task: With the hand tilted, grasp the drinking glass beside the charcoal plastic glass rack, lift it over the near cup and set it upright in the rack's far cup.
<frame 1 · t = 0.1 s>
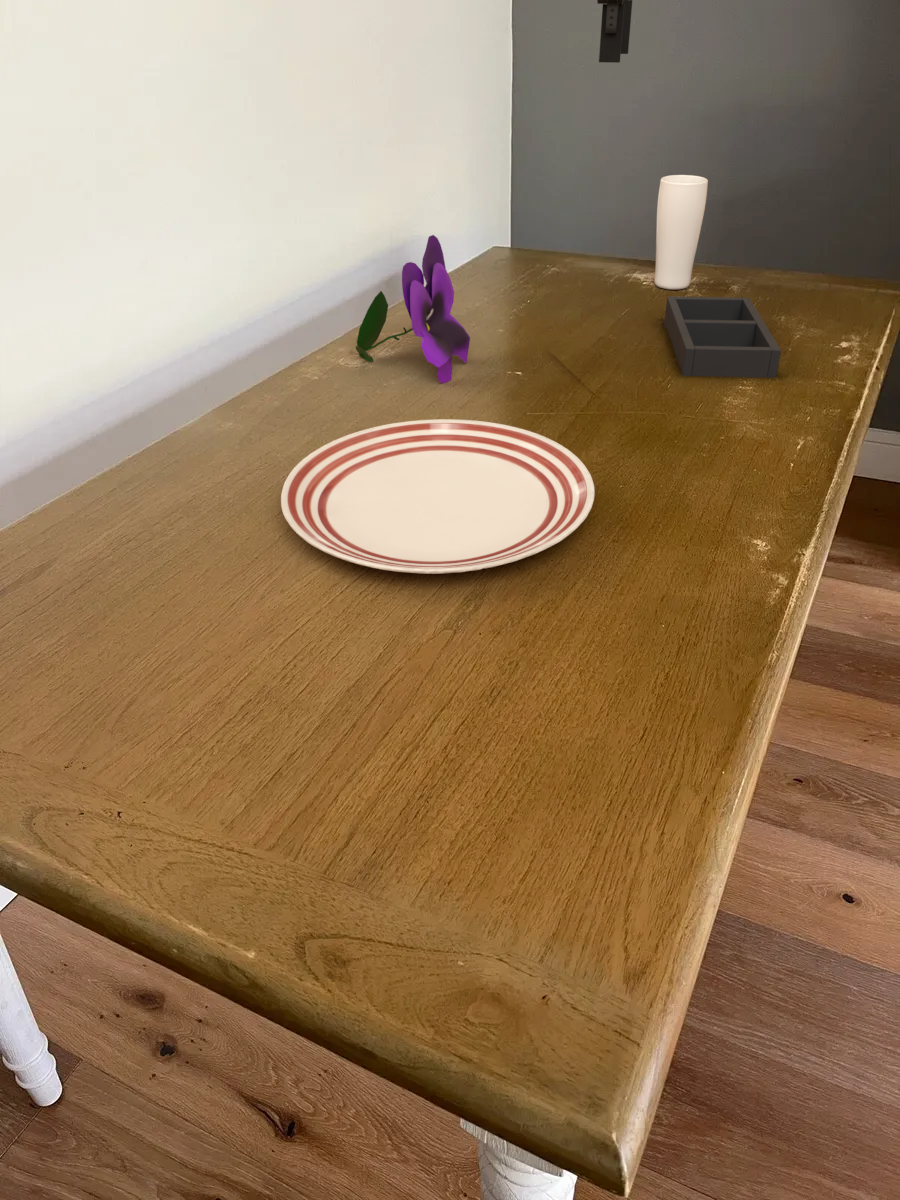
hand: (614, 58, 132), 30 cm above the table, tool pointing down, fingers open, 13 cm apart
glass rack: (714, 358, 118), on the table
dinner plate: (438, 515, 86), on the table
flower: (408, 368, 117), on the table
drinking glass: (671, 287, 144), on the table
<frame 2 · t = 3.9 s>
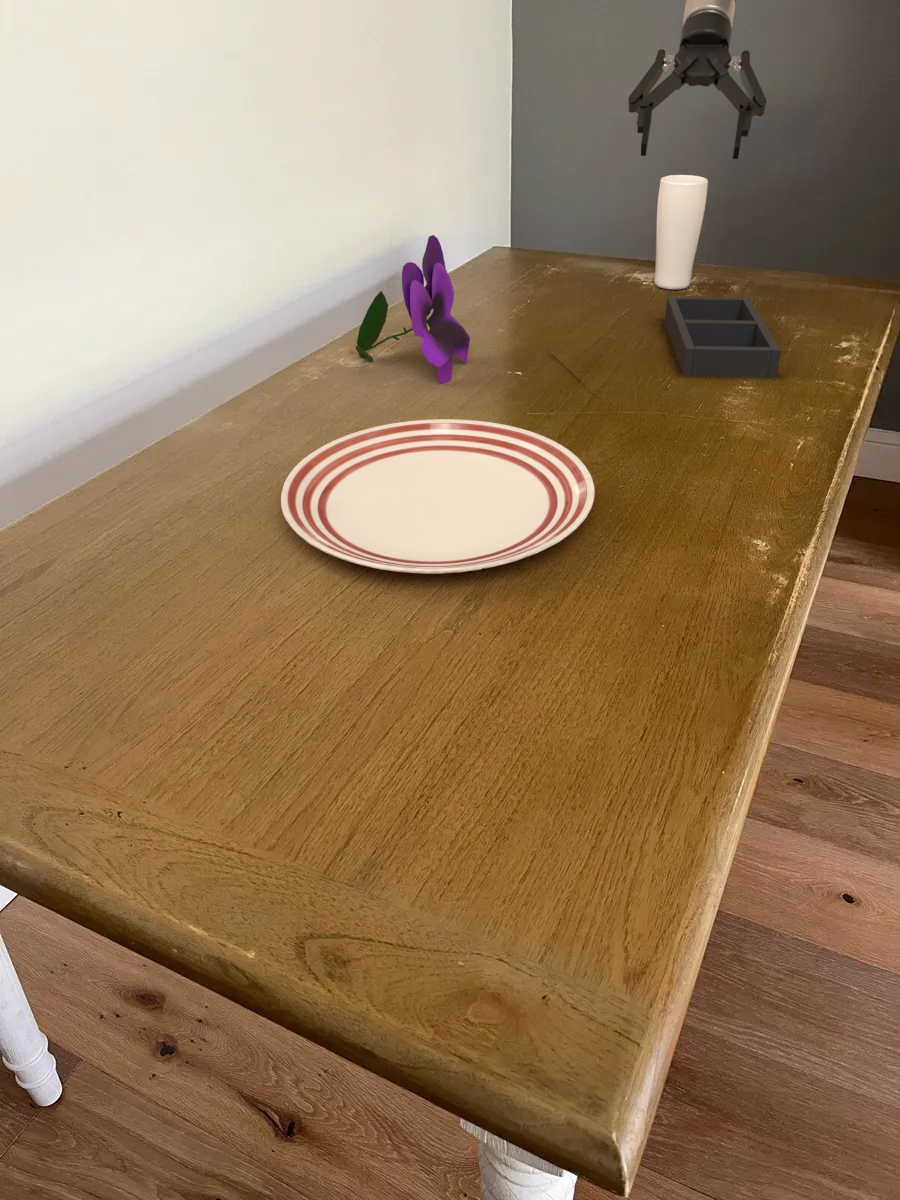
hand: (689, 151, 143), 17 cm above the table, tool tilted 45°, fingers open, 13 cm apart
nothing on the table moved.
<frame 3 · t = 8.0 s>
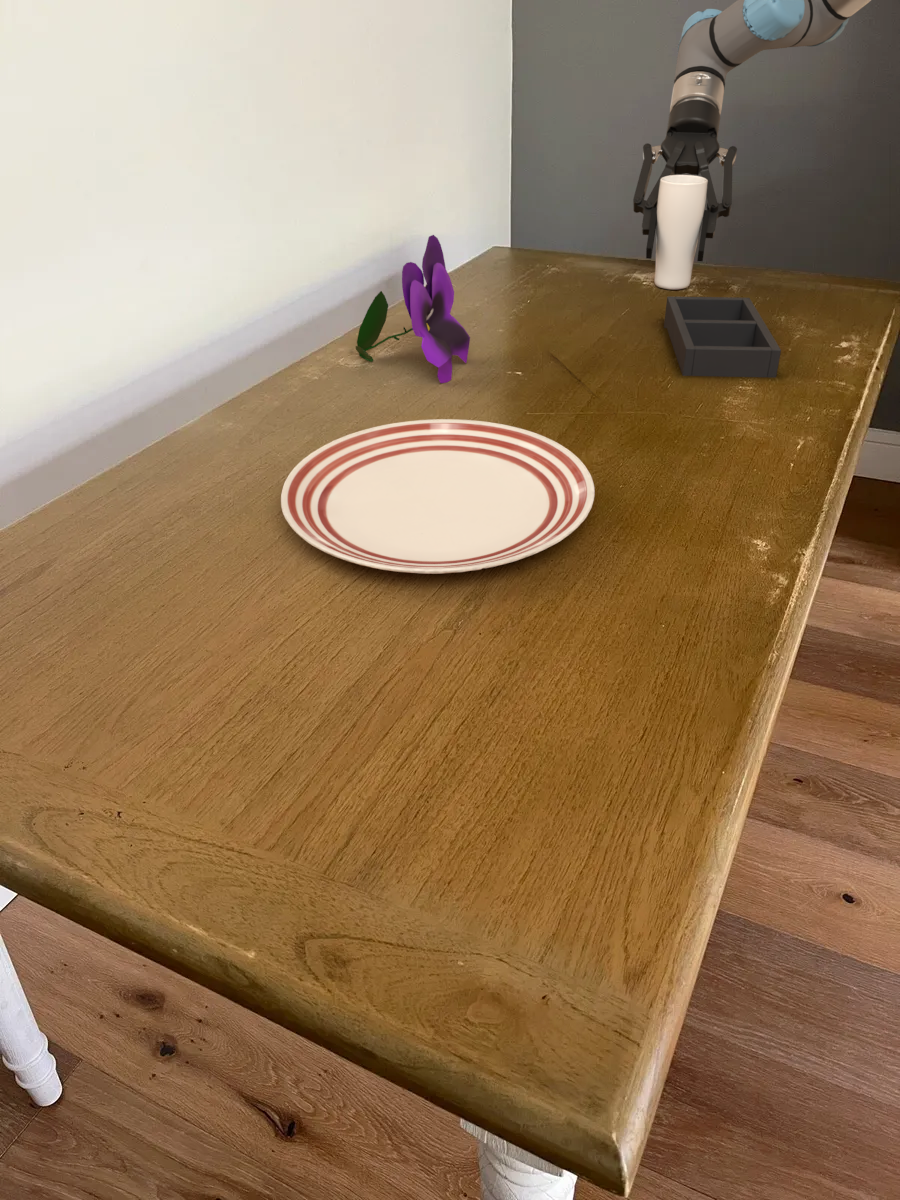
hand: (674, 254, 138), 5 cm above the table, tool tilted 45°, fingers closed on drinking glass, 7 cm apart
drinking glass: (671, 287, 144), on the table, touching gripper
everything else where it was.
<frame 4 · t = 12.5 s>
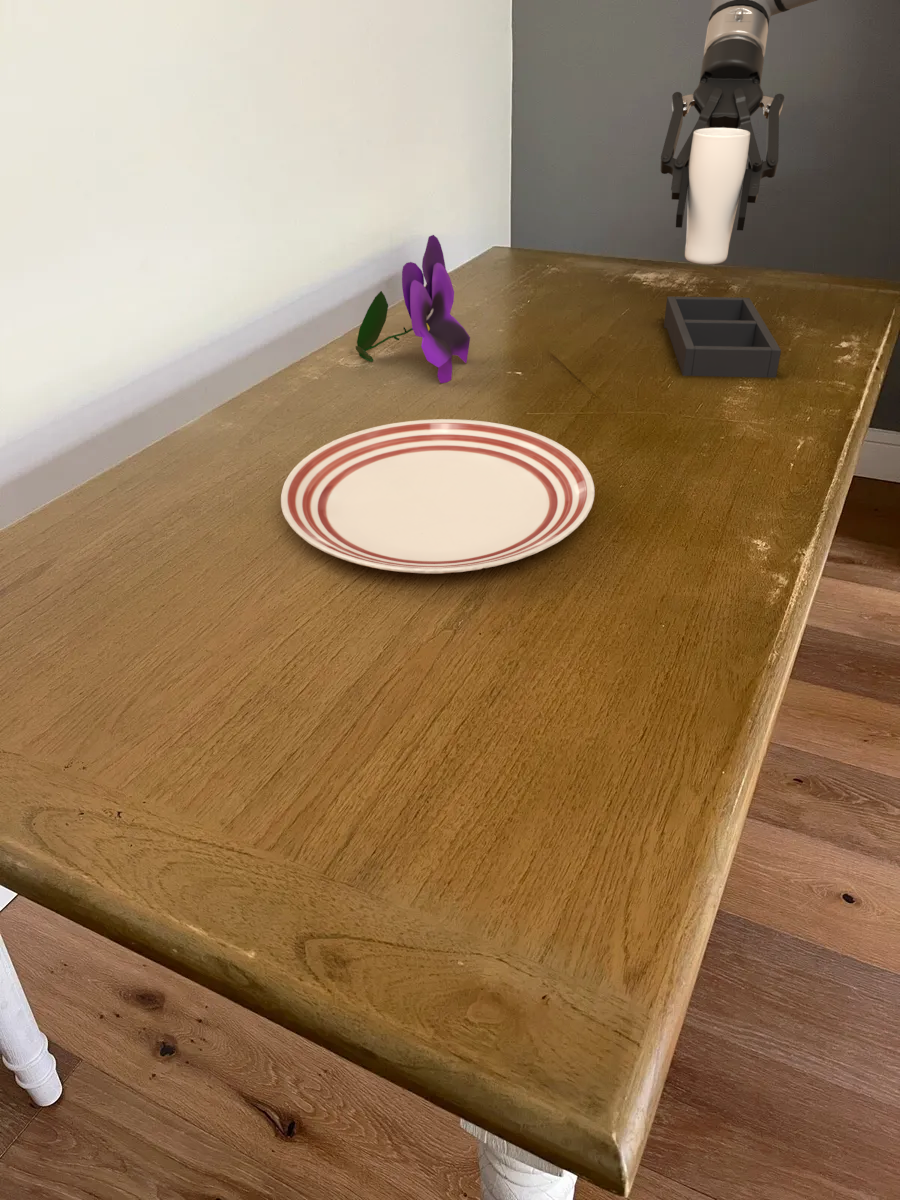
hand: (709, 222, 117), 14 cm above the table, tool tilted 45°, fingers closed on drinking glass, 7 cm apart
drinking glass: (704, 262, 123), point 9 cm above the table, touching gripper
everything else where it was.
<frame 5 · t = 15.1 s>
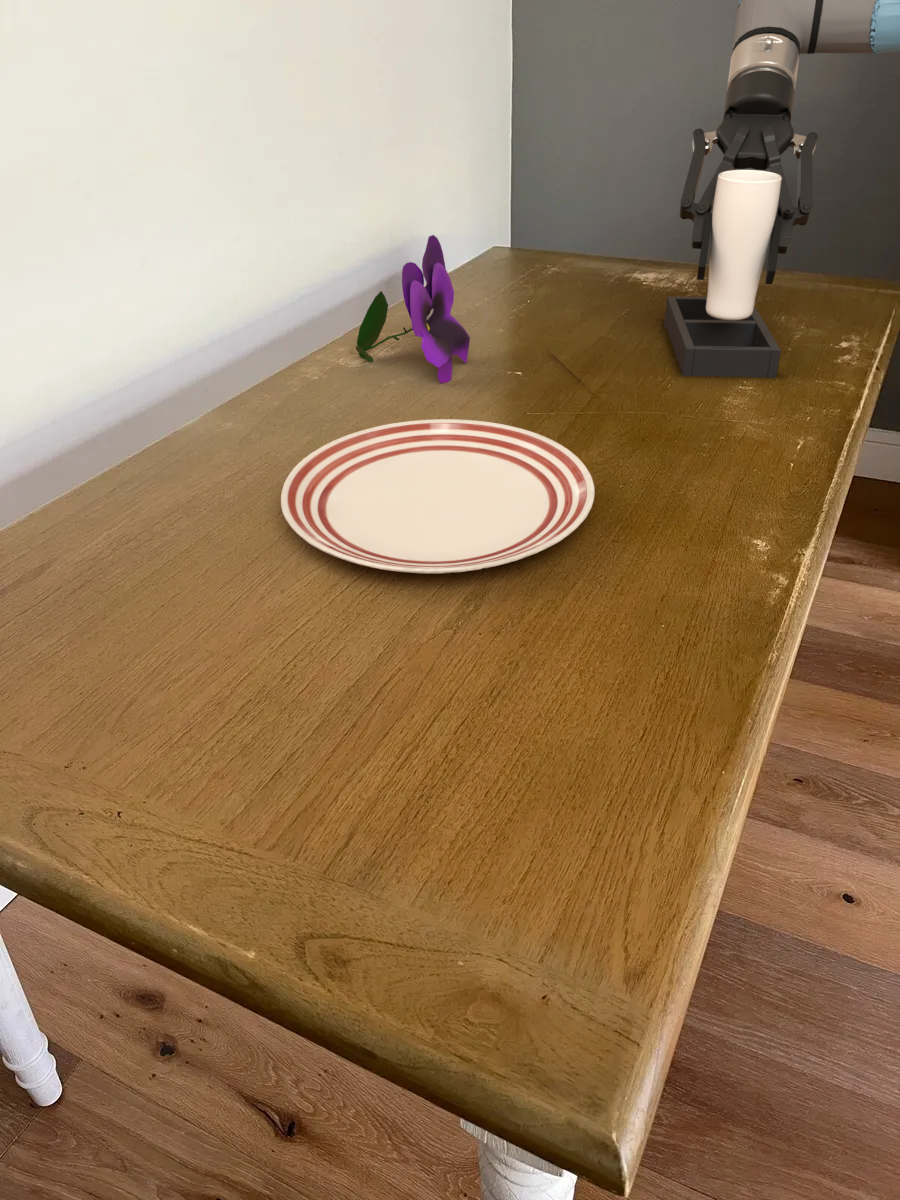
hand: (735, 275, 105), 12 cm above the table, tool tilted 45°, fingers closed on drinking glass, 7 cm apart
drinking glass: (728, 316, 111), point 7 cm above the table, touching gripper
everything else where it was.
when the fingers open (6 cm above the table, at t = 17.1 s): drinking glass stays where it is, resting on glass rack.
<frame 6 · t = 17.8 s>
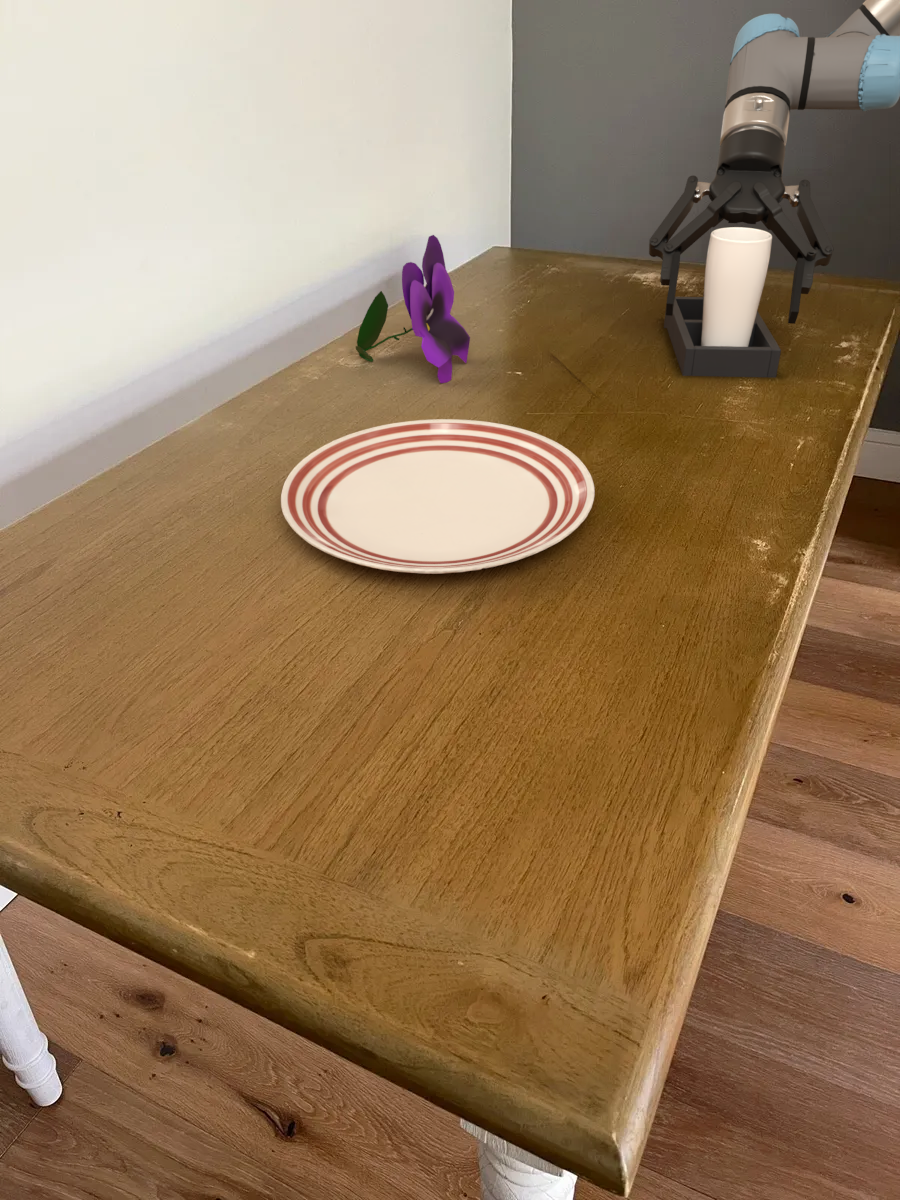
hand: (730, 314, 108), 8 cm above the table, tool tilted 45°, fingers open, 13 cm apart
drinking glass: (721, 366, 114), point 1 cm above the table, touching glass rack
everything else where it was.
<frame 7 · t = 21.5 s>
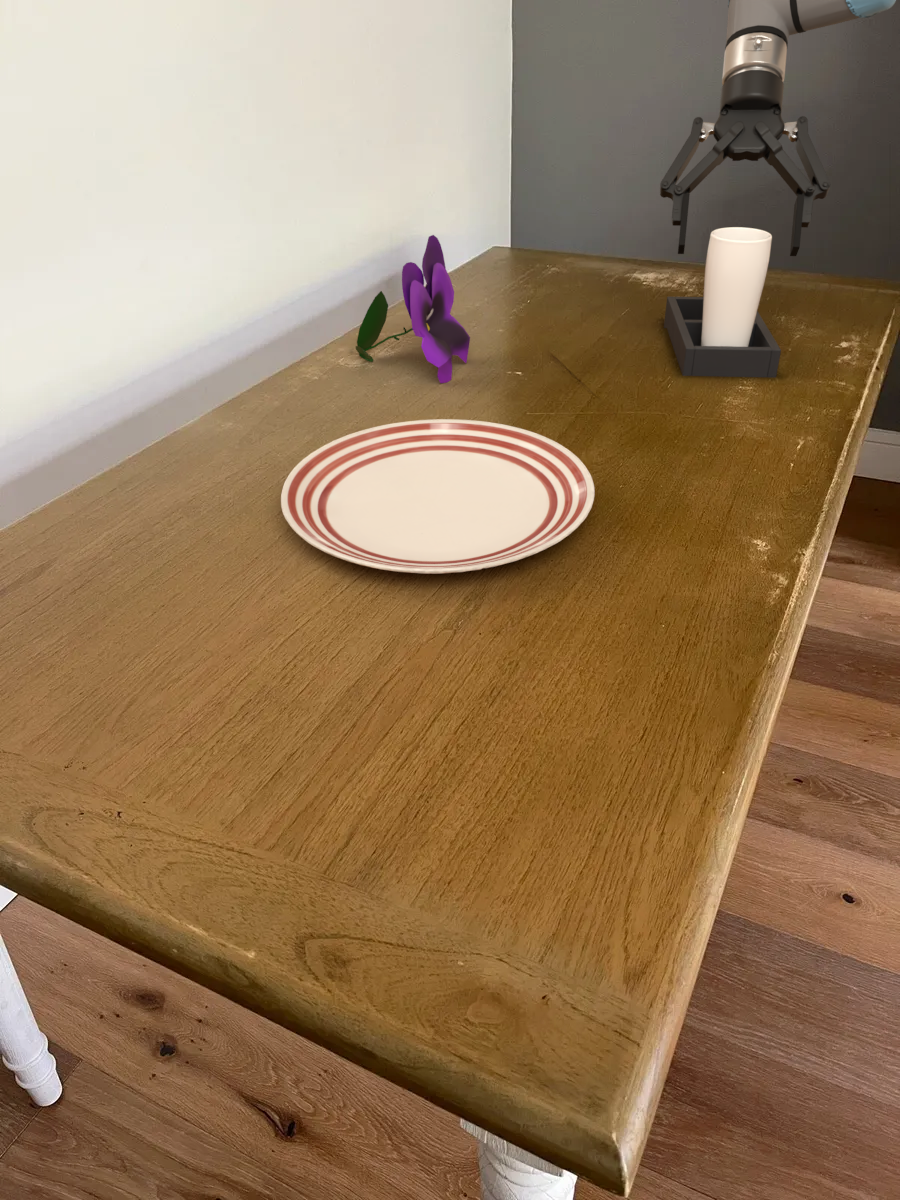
hand: (737, 250, 119), 11 cm above the table, tool tilted 35°, fingers open, 13 cm apart
nothing on the table moved.
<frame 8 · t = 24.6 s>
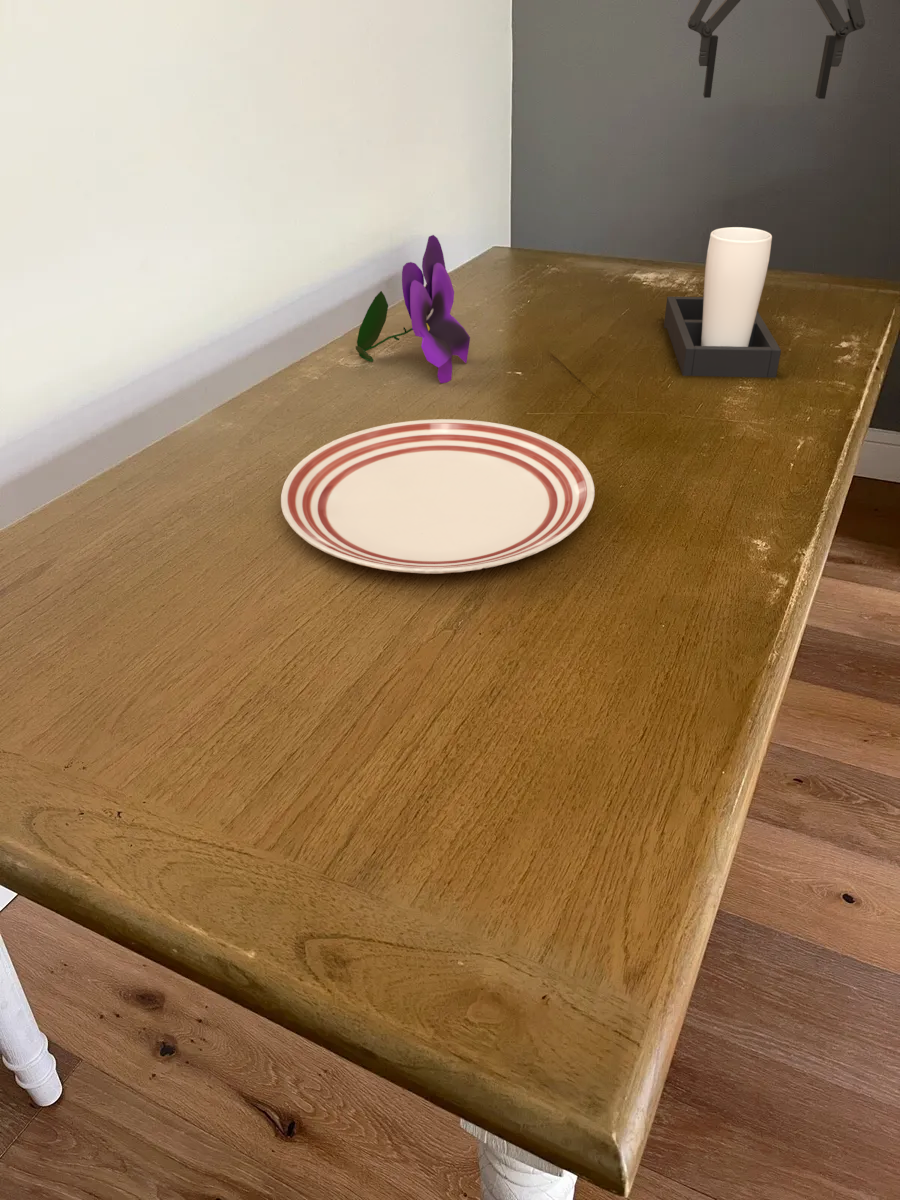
hand: (762, 97, 119), 27 cm above the table, tool pointing down, fingers open, 13 cm apart
nothing on the table moved.
at the end: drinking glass 0.1 cm from the target spot in the glass rack, point 0.6 cm above the glass rack's base; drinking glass tilted 0°; the gripper is holding nothing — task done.
